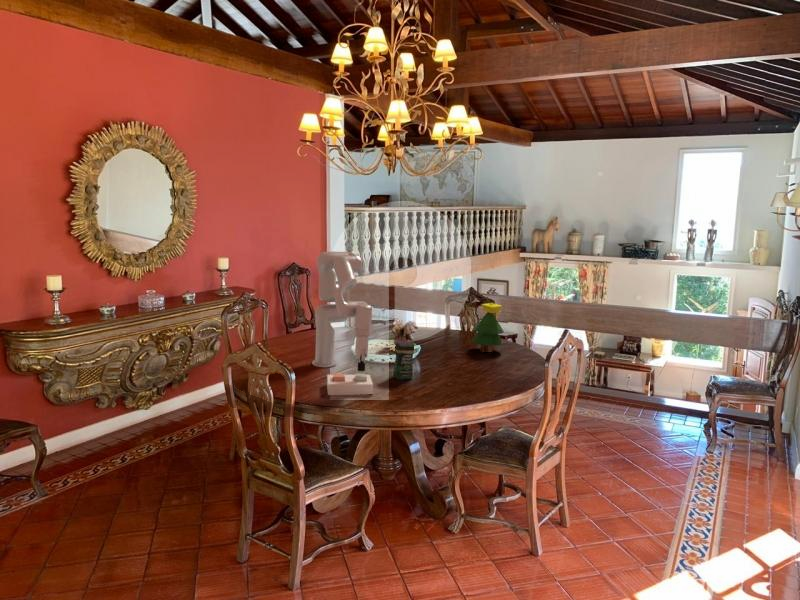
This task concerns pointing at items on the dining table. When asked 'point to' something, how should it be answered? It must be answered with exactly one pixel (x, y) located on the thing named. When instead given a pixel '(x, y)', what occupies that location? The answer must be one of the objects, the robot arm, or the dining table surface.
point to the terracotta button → (338, 377)
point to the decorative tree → (488, 329)
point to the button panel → (349, 386)
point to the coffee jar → (403, 360)
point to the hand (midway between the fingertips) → (361, 370)
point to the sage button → (360, 377)
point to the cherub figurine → (403, 330)
